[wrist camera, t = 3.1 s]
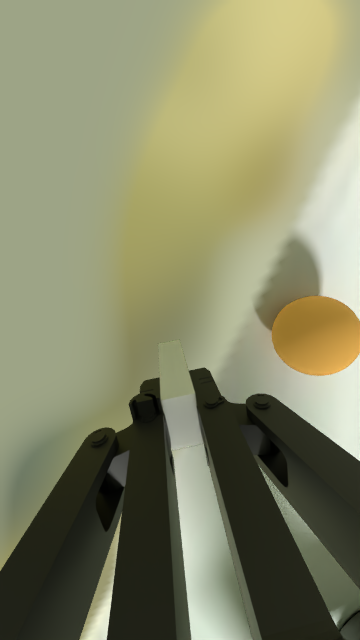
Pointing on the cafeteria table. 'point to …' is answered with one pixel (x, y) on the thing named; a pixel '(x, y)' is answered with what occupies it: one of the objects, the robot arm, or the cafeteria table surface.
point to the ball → (317, 335)
